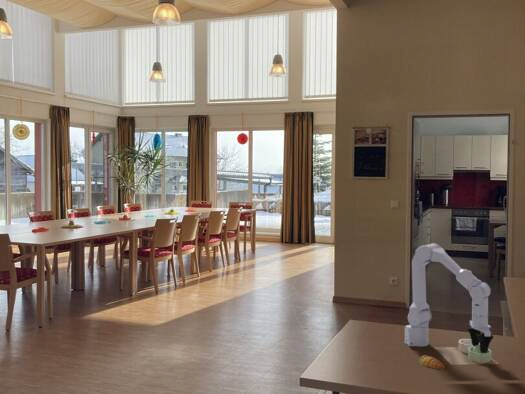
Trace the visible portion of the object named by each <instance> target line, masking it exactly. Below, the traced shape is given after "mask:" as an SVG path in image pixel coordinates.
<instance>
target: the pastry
mask: <svg viewBox="0 0 525 394" xmlns="http://www.w3.org/2000/svg"><path fill="white" fill-rule="evenodd" d="M418 364H419V365H420V366H422V367H426V368H431V369H436V370H444V369H445V368H446V366H445V364H444V363H443V362H442V361H440V360H439V359H438V358H436V357H433V356H428V355H426V354H424V355H422V356H421V357H420V358H419V361H418Z"/></svg>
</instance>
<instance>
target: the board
mask: <svg viewBox="0 0 525 394" xmlns="http://www.w3.org/2000/svg"><path fill="white" fill-rule="evenodd" d="M433 348H434V349H435V351H437V352H438V353H439V354H440V355H441V356H442V357H443V358H444V359H445V360H446V361H447V362H448V363H449V364H450V365H451V366H455V365H456V366H457V365H459V366H460V365H463V366H464V365H466V366H469V365H472V366H473V365H499V363H498V362H497V361H496V360H495V359H493V358H492V357H491V362H488V363H479V362H474V361H471V360H469V359H468V354H467V353H463V352H460V351H459V346H445V347H444V346H440V347H439V346H438V347H433Z"/></svg>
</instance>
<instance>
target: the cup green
mask: <svg viewBox="0 0 525 394" xmlns="http://www.w3.org/2000/svg"><path fill="white" fill-rule="evenodd" d="M473 348H474V347H469V348H468V359H469V360H471V361H474V362H479V363H488V362H491V358H492V350H491V349H489V348H488V351H487V353H475V352H473Z"/></svg>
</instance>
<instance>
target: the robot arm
mask: <svg viewBox="0 0 525 394" xmlns="http://www.w3.org/2000/svg"><path fill="white" fill-rule="evenodd" d="M430 262H434V263H435V262H436V263H440V264H442V265H443V266H444V267H445V268H446V269H447V270H449V271H450V272H451V273H453V274H454V275H455V279H456V281H457V282H458V283H459V284H461V285H462V286H463V287H464V288H465V289H466V290H467V291H468V292H469V295H470V297H471V299H472V301H471V320H469V327H468V326H467V327H466V329H467V331H468V333H469V336H470V339H471V341H472V345H473V346H476V345H479V343H480V351H481V353H487V351H488V349H489V347H490V343H491V342H492V340H493V339H494V335H492V334H491V333H492V332H491V330H490V329H491V328H492V326H491V325H490V324H489V296H490V295H491V292H492V291H491V287H490V286H489V285H488V283H487V282H484V281H483V282H482V280H481V279H479V278H477V277H476V276H475V275H474V274H473V272H472V271H471V270H470V269H469V270H468V269H466V268H461V267H460V265H459V264H457V262H456V261H455V260H454V259H453V258H452V257H451V256H449V255H448V253H447V252H446V251H445V249H444V248H443V247H441V246H440V245H439V244H437V243H435V242H433V243H430V244H429V243H428V244H425V245H423V244H422V245H420V246H419V247H417V248H416V249H415V252H414V255H413V257H412V260H411V280H412V281H411V284H412V285H411V287H412V303H411V305H410V306H409V309H408V310H409V312H408V315H407V321H408V323H409V324H408V325H405V326H404V342H403V343H404V344H406V345H407V346H408V347H427V346H429V323H430V322H431V320H432V316H433V315H432V312H431V310H430V305H429V304H428V303H427V283H426V282H427V281H426V278H427V277H426V276H427V275H426V265H428V264H429V263H430Z"/></svg>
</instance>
